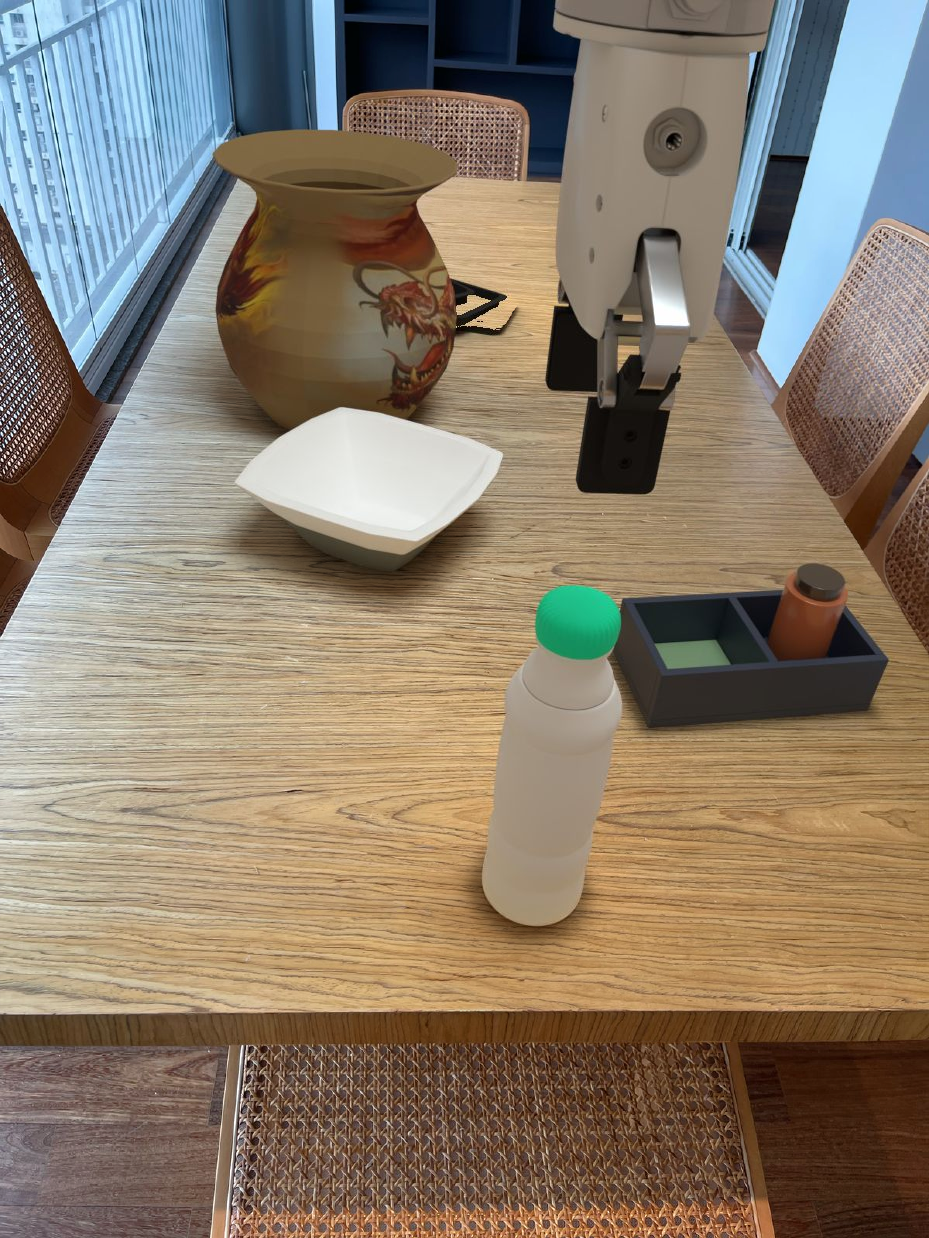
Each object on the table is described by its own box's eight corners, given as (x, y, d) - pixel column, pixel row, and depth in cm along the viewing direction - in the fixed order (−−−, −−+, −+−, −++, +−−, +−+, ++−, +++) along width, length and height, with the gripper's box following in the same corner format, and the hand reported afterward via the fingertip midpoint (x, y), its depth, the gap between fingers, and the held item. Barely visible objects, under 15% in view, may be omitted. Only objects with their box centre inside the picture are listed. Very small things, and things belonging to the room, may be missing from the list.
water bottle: (490, 840, 74) (527, 558, 59) (585, 860, 73) (648, 579, 58) (471, 918, 68) (507, 629, 53) (574, 940, 67) (640, 654, 52)
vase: (441, 471, 117) (458, 204, 99) (196, 449, 117) (169, 178, 99) (457, 371, 140) (474, 140, 122) (253, 353, 140) (239, 119, 122)
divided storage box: (611, 650, 93) (622, 598, 89) (813, 637, 96) (831, 586, 93) (648, 729, 84) (662, 675, 81) (867, 711, 88) (889, 659, 85)
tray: (520, 298, 166) (523, 266, 162) (516, 352, 147) (519, 318, 144) (340, 281, 166) (340, 249, 163) (313, 333, 148) (312, 298, 144)
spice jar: (802, 648, 93) (834, 557, 87) (828, 685, 89) (864, 592, 83) (750, 652, 92) (779, 560, 86) (774, 689, 88) (806, 596, 82)
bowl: (334, 465, 117) (333, 398, 111) (514, 520, 110) (522, 451, 105) (219, 555, 100) (212, 482, 95) (422, 627, 93) (426, 551, 88)
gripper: (863, 33, 28) (726, 542, 39) (707, -27, 42) (637, 361, 52) (602, 14, 28) (534, 538, 38) (529, -40, 41) (494, 355, 52)
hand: (593, 435), depth 45 cm, fingers open, 9 cm apart
